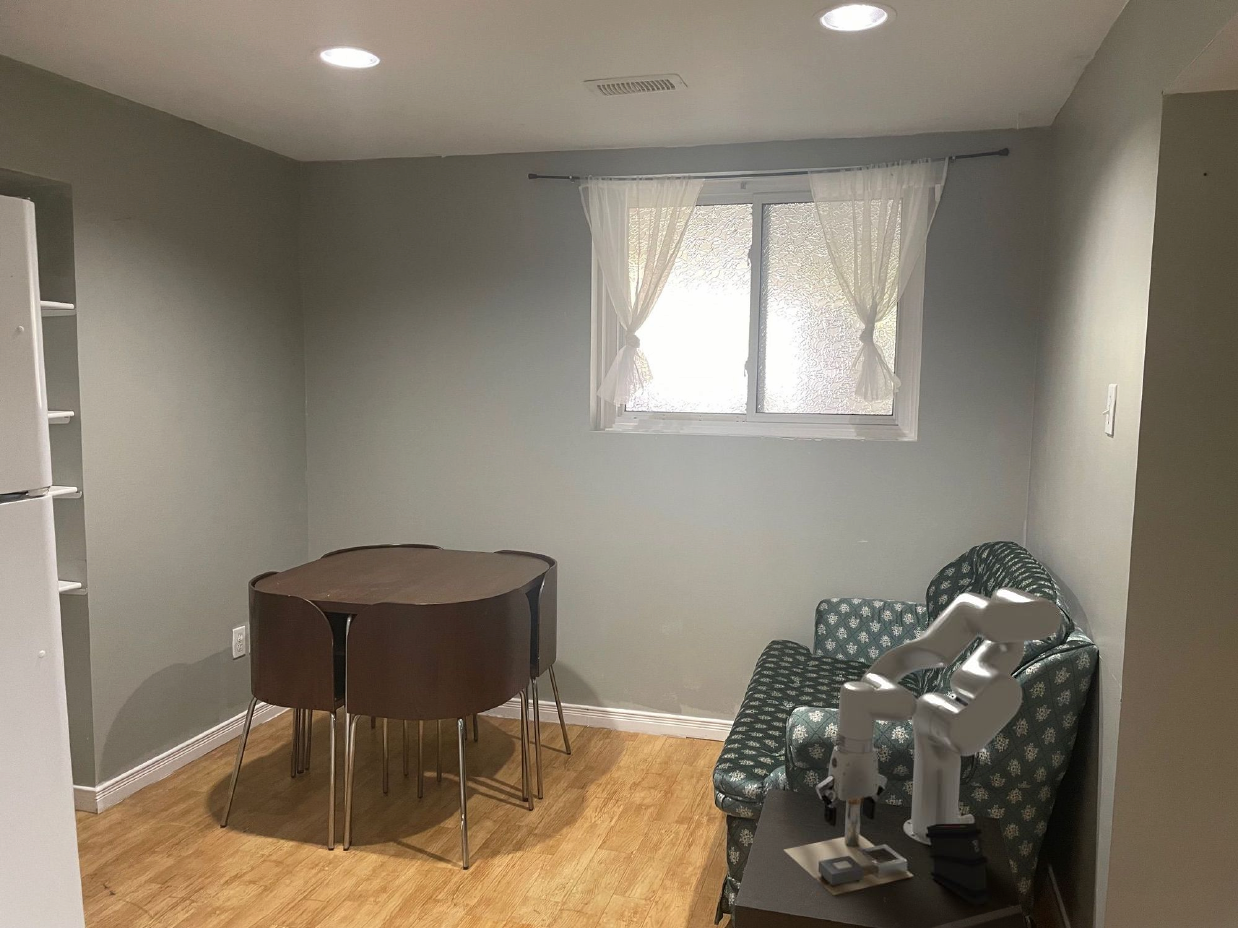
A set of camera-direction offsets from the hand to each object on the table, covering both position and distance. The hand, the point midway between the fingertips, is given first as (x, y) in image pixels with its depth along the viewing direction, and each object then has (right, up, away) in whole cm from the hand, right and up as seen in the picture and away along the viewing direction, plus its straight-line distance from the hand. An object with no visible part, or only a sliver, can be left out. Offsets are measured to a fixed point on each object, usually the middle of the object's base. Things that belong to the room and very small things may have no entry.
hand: (849, 819), depth 200 cm
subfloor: (-2, -7, -7) cm, 10 cm away
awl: (+1, -5, +1) cm, 5 cm away
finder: (-5, -7, -13) cm, 16 cm away
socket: (+4, -6, -8) cm, 11 cm away
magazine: (+17, -9, -15) cm, 24 cm away
